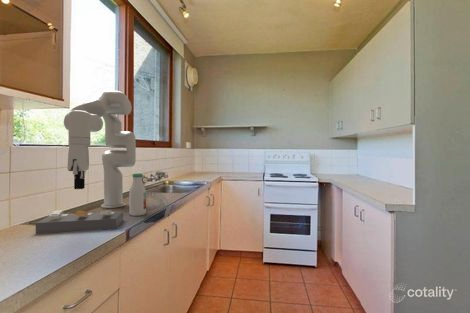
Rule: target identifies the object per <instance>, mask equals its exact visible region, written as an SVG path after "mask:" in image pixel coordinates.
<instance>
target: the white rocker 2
mask: <svg viewBox="0 0 470 313" xmlns="http://www.w3.org/2000/svg"><path fill="white" fill-rule="evenodd" d="M99 212H100V214H111V212H112V210H111V209H103V210H100V211H99Z"/></svg>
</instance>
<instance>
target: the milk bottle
mask: <svg viewBox="0 0 470 313" xmlns="http://www.w3.org/2000/svg"><path fill="white" fill-rule="evenodd" d="M143 176H144V175H143V173H132V182H131V185H130V187H129V196H128V198H129V199H128V201H129V203H128V204H129V205H128V207H129V208H128V209H129V211H128V212H129V214H128V215H130V216H132V217H133V216H134V217H138V216H144V215H146V214H147V191H146V186H145V185H144V182H143V178H144V177H143Z"/></svg>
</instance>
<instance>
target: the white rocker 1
mask: <svg viewBox="0 0 470 313" xmlns="http://www.w3.org/2000/svg"><path fill="white" fill-rule="evenodd" d="M62 214H64V210H62V209H59V210H57V209H56V210H53V211H52V212H51V213H50V214H49V215H48V216H49V219H59V218H60V217H61V215H62Z"/></svg>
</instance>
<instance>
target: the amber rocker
mask: <svg viewBox="0 0 470 313" xmlns="http://www.w3.org/2000/svg"><path fill="white" fill-rule="evenodd" d="M88 213H89V211H86V210H77V211H75V216H76V215H88Z"/></svg>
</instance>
